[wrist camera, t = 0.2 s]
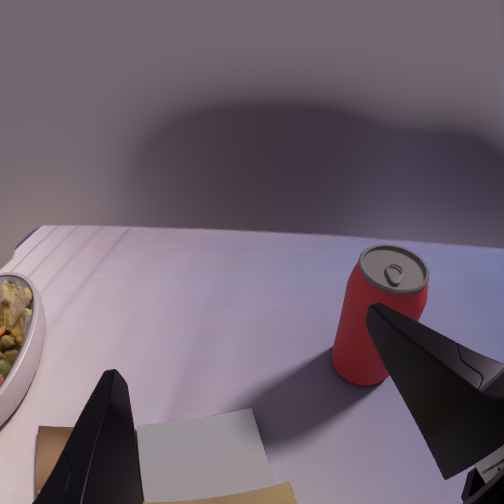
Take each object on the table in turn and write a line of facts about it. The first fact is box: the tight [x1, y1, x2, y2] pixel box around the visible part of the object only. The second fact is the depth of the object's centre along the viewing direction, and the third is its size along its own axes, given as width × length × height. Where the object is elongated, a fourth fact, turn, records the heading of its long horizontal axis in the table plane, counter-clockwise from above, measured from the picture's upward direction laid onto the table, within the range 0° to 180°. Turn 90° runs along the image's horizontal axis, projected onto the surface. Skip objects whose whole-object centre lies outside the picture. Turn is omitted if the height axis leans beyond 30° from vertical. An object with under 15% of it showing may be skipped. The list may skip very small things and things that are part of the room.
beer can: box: [332, 244, 429, 385], centre depth 22 cm, size 7×7×12 cm
